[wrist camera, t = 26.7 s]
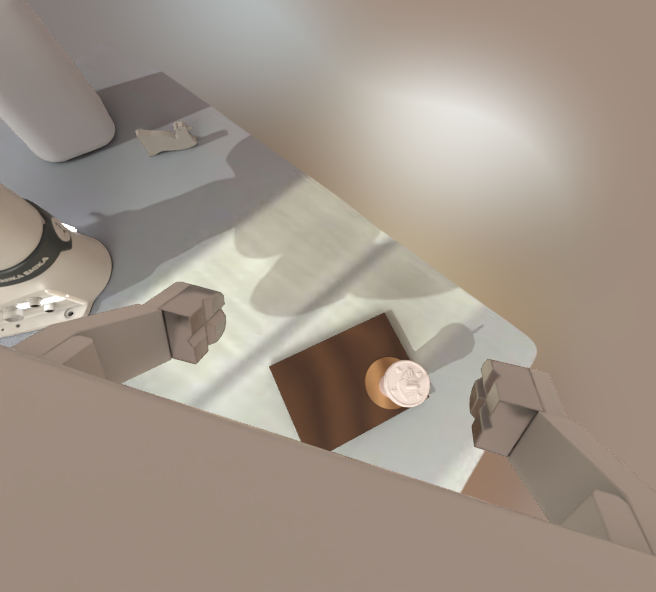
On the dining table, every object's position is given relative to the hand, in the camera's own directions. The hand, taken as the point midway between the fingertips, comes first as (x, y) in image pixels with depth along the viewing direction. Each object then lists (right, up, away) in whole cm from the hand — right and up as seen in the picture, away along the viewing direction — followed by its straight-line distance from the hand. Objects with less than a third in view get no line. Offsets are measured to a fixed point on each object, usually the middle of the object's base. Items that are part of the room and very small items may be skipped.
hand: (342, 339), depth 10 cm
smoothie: (+10, -14, +45) cm, 48 cm away
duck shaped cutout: (-31, +31, +57) cm, 72 cm away
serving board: (+3, -13, +46) cm, 48 cm away
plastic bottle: (-52, +35, +56) cm, 84 cm away
